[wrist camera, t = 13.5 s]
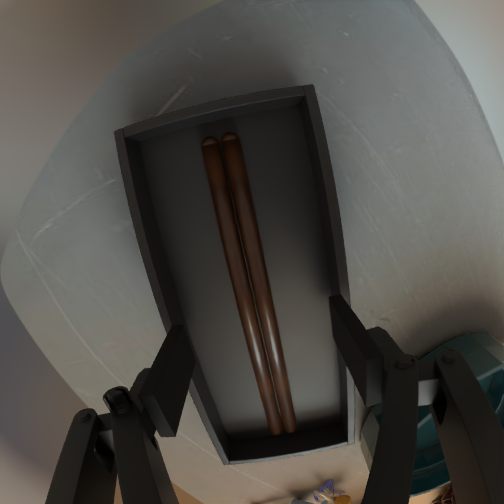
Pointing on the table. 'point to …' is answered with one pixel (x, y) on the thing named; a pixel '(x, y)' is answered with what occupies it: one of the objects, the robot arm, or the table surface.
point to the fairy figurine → (327, 497)
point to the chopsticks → (256, 272)
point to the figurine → (448, 497)
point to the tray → (276, 258)
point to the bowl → (428, 444)
